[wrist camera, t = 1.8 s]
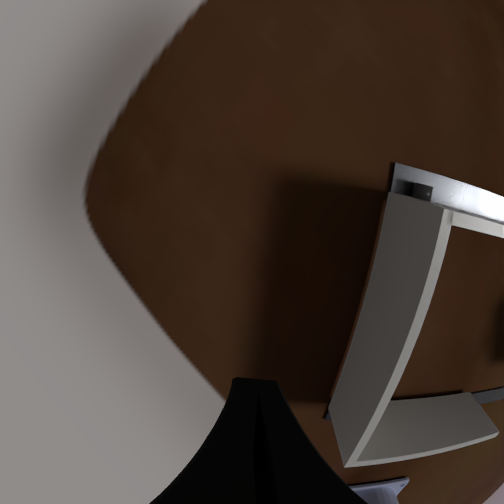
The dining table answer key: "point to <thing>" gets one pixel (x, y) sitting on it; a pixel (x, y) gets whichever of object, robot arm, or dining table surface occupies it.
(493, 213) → the track
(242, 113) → the dining table surface
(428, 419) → the white open box
